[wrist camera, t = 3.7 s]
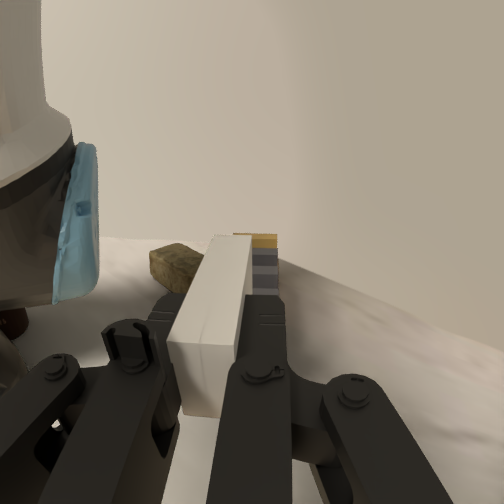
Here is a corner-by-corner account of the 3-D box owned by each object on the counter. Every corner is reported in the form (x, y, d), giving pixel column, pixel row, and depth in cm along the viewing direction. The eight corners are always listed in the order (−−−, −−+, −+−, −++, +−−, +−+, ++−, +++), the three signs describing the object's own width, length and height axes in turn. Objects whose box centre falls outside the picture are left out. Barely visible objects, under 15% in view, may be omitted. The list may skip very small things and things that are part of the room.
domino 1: (274, 314, 39) (277, 239, 35) (234, 313, 39) (231, 238, 35) (274, 307, 41) (277, 234, 36) (235, 305, 41) (233, 233, 37)
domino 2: (274, 334, 36) (277, 255, 31) (230, 333, 36) (226, 253, 32) (274, 326, 37) (277, 248, 33) (232, 324, 37) (228, 247, 33)
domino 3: (274, 358, 32) (278, 274, 28) (226, 356, 32) (221, 273, 28) (274, 348, 33) (278, 266, 29) (228, 346, 34) (223, 264, 29)
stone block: (192, 310, 40) (188, 275, 38) (149, 279, 48) (144, 249, 46) (225, 293, 44) (224, 260, 42) (179, 267, 51) (176, 238, 49)
